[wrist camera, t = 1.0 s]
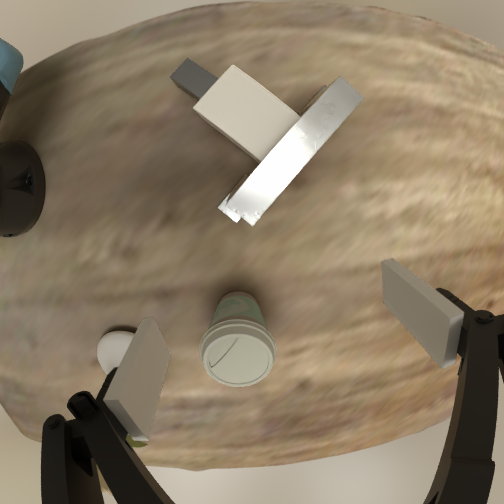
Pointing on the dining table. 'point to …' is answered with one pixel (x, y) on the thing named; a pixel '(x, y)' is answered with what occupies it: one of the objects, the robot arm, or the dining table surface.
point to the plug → (237, 107)
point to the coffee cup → (238, 342)
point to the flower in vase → (110, 357)
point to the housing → (291, 152)
